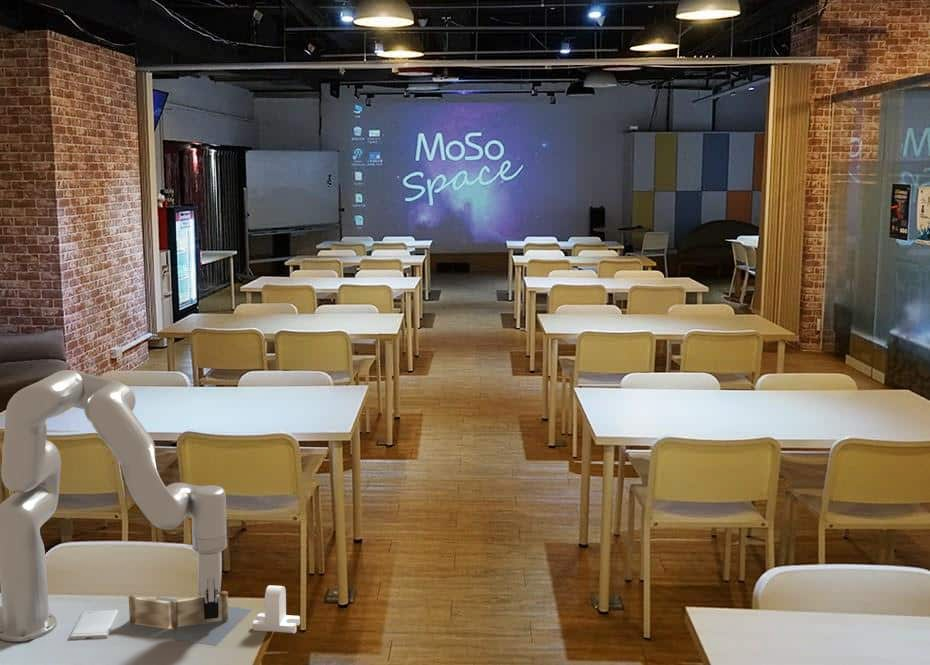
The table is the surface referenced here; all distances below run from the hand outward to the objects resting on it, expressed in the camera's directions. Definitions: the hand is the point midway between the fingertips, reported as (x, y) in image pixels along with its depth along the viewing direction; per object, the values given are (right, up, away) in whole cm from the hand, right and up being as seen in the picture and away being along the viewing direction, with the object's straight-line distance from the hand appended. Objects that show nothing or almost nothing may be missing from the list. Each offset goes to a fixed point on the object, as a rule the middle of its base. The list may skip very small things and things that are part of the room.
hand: (211, 616), depth 220 cm
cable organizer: (+14, -3, +2) cm, 15 cm away
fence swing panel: (-3, -2, +2) cm, 5 cm away
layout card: (-7, -2, +4) cm, 9 cm away
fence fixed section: (-15, -2, +2) cm, 15 cm away
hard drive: (-27, -3, +1) cm, 27 cm away
